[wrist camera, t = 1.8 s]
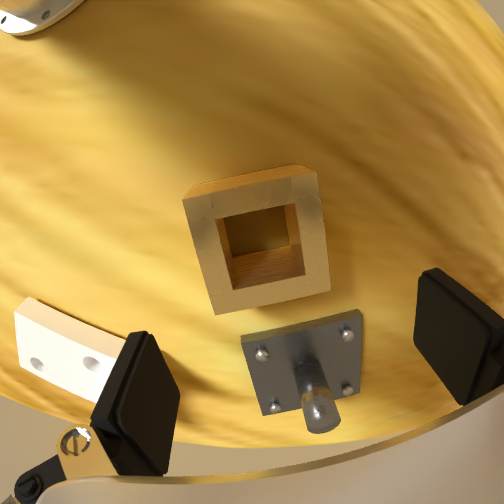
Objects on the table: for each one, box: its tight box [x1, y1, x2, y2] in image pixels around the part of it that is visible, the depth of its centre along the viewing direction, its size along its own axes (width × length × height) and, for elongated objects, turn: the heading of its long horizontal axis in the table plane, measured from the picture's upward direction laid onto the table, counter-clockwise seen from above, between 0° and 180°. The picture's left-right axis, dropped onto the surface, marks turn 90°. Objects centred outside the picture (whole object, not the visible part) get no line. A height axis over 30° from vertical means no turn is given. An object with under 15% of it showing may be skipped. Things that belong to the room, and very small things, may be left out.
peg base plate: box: [241, 309, 362, 434], centre depth 23 cm, size 10×10×7 cm
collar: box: [182, 164, 331, 315], centre depth 19 cm, size 7×7×5 cm
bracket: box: [14, 297, 126, 403], centre depth 21 cm, size 13×7×8 cm, turn 67°
